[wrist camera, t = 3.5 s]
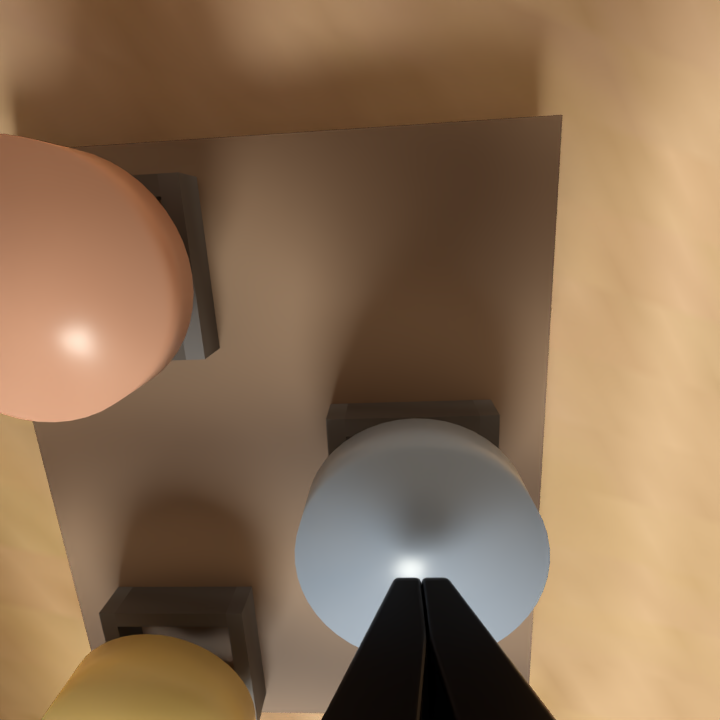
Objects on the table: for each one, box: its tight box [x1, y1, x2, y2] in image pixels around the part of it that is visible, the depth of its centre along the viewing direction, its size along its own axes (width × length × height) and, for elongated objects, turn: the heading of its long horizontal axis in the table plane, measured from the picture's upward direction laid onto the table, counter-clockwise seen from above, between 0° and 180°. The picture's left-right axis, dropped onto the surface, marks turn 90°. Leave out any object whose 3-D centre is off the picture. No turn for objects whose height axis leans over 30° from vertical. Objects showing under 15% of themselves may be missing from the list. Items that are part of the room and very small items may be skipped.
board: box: [33, 115, 562, 720], centre depth 12 cm, size 15×12×2 cm
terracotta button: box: [0, 134, 194, 422], centre depth 8 cm, size 4×4×2 cm
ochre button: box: [42, 634, 256, 720], centre depth 11 cm, size 4×4×2 cm
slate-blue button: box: [295, 418, 550, 648], centre depth 9 cm, size 4×4×2 cm
